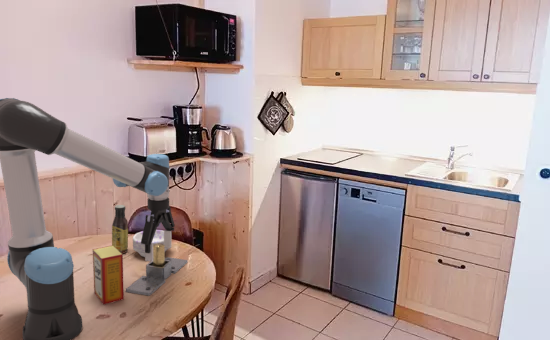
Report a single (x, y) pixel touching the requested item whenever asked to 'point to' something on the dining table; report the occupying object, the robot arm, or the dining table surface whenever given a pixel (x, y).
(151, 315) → the dining table surface
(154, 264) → the hinge pin
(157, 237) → the paper bowls
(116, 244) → the sauce bottle
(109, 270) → the baking soda box
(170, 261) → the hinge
